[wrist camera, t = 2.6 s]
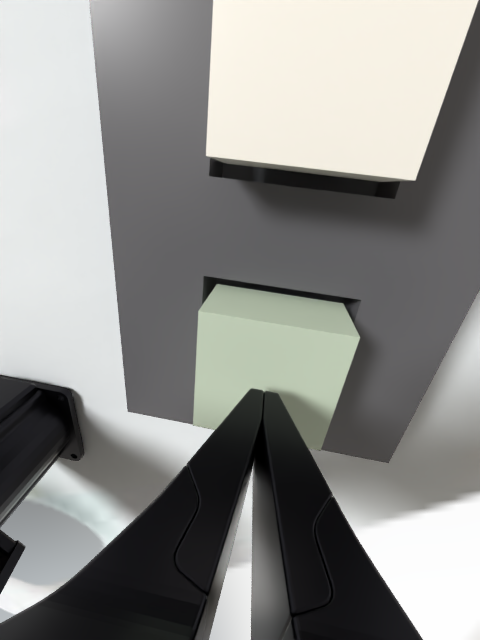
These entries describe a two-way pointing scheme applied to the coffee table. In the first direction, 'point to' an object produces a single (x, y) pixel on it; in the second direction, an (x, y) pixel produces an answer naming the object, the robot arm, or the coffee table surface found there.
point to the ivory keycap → (331, 83)
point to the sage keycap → (272, 356)
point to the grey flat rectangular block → (277, 228)
